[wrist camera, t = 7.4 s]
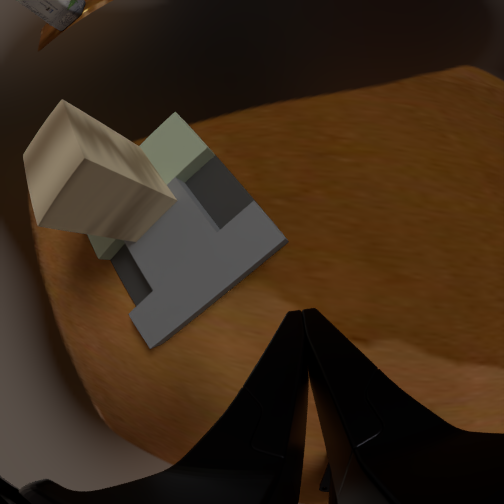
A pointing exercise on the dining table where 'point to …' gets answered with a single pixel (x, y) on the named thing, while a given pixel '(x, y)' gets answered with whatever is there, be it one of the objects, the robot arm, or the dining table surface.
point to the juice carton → (56, 11)
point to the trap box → (189, 237)
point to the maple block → (92, 179)
